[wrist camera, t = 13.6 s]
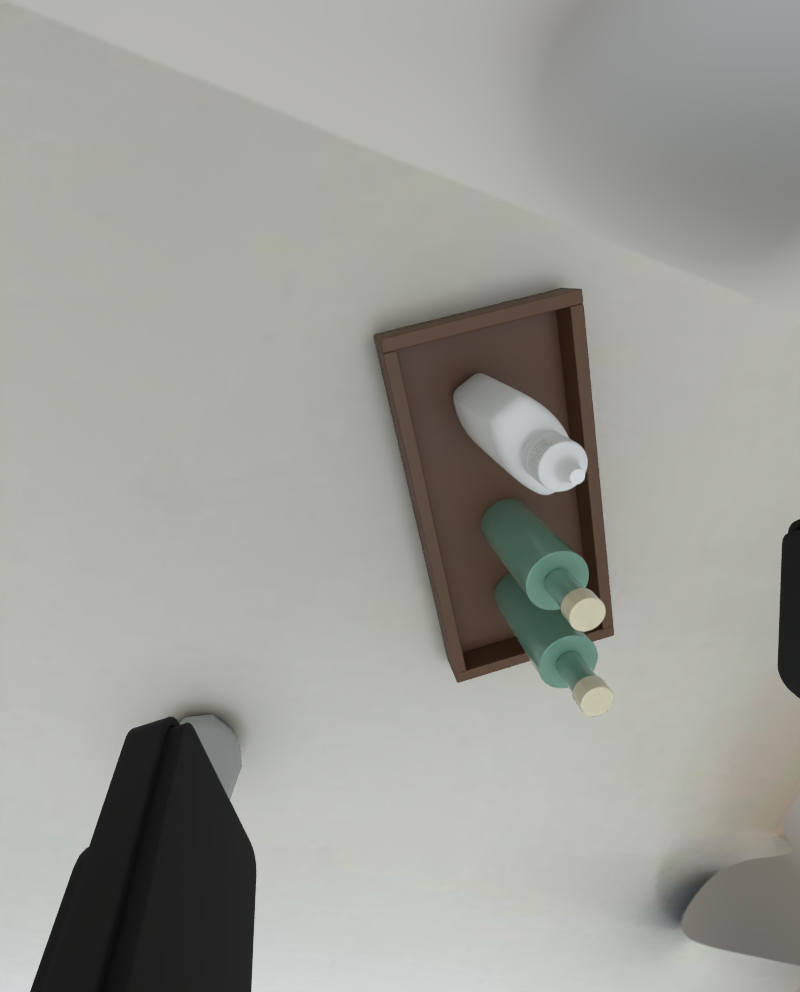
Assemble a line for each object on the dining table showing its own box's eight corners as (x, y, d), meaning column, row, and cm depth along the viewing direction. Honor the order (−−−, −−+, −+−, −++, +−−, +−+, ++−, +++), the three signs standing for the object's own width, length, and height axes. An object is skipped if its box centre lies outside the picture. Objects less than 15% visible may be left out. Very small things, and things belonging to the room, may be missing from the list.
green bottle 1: (476, 506, 38) (548, 594, 27) (528, 492, 38) (619, 573, 28) (485, 554, 39) (557, 655, 29) (535, 539, 40) (624, 634, 29)
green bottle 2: (489, 578, 40) (561, 685, 29) (539, 563, 40) (627, 664, 30) (497, 621, 41) (568, 738, 31) (545, 607, 42) (632, 718, 31)
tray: (373, 334, 34) (379, 339, 31) (562, 287, 35) (582, 288, 32) (448, 660, 43) (457, 683, 40) (596, 615, 44) (614, 635, 41)
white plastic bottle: (458, 465, 37) (532, 546, 26) (448, 376, 35) (524, 422, 24) (524, 452, 37) (625, 525, 26) (519, 363, 35) (625, 403, 24)
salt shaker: (259, 746, 42) (247, 933, 30) (187, 781, 42) (147, 982, 30) (216, 690, 40) (185, 867, 28) (141, 727, 40) (77, 920, 28)
